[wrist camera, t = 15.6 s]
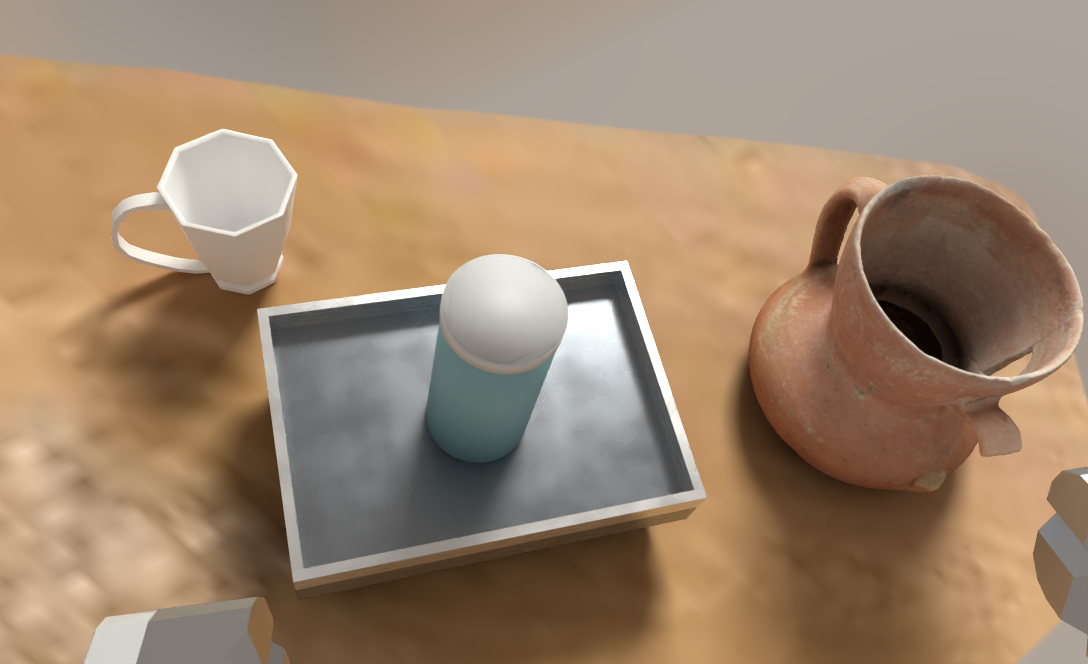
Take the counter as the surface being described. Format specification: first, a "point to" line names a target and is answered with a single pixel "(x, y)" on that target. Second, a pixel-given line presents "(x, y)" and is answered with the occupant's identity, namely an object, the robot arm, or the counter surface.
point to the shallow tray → (442, 480)
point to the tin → (492, 354)
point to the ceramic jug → (912, 331)
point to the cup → (222, 209)
